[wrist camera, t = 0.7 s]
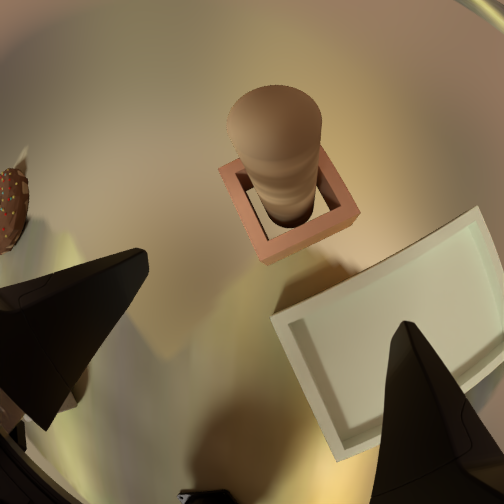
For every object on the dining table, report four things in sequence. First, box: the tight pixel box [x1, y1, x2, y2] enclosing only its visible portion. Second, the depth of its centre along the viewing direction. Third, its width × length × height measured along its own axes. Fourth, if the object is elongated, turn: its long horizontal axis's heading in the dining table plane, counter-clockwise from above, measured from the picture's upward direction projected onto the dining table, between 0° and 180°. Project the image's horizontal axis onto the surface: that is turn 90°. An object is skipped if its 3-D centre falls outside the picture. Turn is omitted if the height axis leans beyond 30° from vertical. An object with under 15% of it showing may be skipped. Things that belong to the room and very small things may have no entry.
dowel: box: [227, 85, 322, 228], centre depth 17 cm, size 4×4×12 cm
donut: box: [0, 168, 29, 255], centre depth 28 cm, size 14×14×5 cm
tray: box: [269, 206, 504, 462], centre depth 18 cm, size 20×14×2 cm
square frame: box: [218, 145, 360, 266], centre depth 21 cm, size 8×8×4 cm
